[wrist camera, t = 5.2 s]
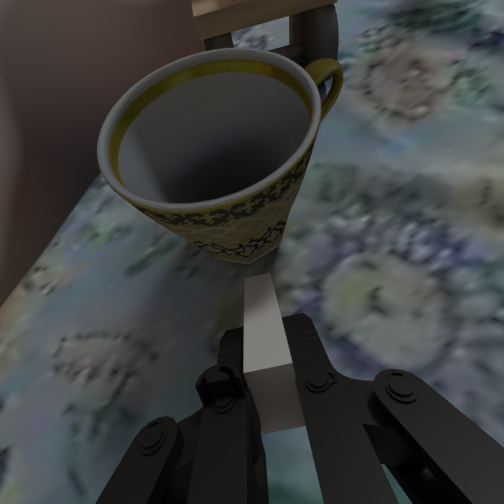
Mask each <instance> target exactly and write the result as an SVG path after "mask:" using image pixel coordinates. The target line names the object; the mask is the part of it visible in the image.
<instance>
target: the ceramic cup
mask: <svg viewBox="0 0 504 504" xmlns="http://www.w3.org/2000/svg"><path fill="white" fill-rule="evenodd" d="M331 74H333V81H332V85H331V88H330V91H329V93H328V95H327V97H326V98H325V100H324V102H323V103H322V105H321V98H320V95H319V91H318V89H317V86H318V85H319V84H320V83H321V82H322V81H323V80H324V79H325V78H326V77H328V76H329V75H331ZM342 83H343V70H342V67H341V65H340V64H339V63H338V62H337V61H336V60H334V59H331V58H322V59H318V60H315V61H313V62H311V63H310V64H309V65H307V66H306V67H305V68H304V69H303V68H302V67H301V66H299V65H298V64H297V63H295V62H293V61H292V60H290V59H288V58H286V57H284V56H281V55H279V54H276V53H273V52H269V51H265V50H260V49H252V48H223V49H216V50H209V51H205V52H201V53H197V54H194V55H190V56H187V57H184V58H181V59H178V60H176V61H174V62H172V63H169V64H167V65H165V66H163V67H161V68H159V69H157V70H156V71H154V72H152V73H151V74H149V75H147V76H146V77H144V78H143V79H141V80H140V81H139V82H138V83H136V84H135V85H134V86H132V87H131V88H130V89H129V90H128V91H127V92H126V93H125V94H124V95H123V96H122V97H121V98H120V99H119V100H118V102H117V103H116V104H115V105H114V106H113V108H112V110H111V111H110V112H109V114H108V116H107V117H106V119H105V121H104V123H103V126H102V128H101V131H100V134H99V138H98V143H97V158H98V164H99V168H100V170H101V173H102V175H103V176H104V178H105V180H106V181H107V183H108V184H109V185H110V187H111V188H112V189H113V190H114V191H115V192H116V193H118V194H119V195H120V196H121V197H123V198H124V199H125V200H126V201H128V202H129V203H130V204H132V205H133V206H134V207H135V208H137V209H138V210H139V211H141V212H142V213H144V214H145V215H147V216H148V217H150V218H151V219H153V220H154V221H156V222H157V223H159V224H160V225H162V226H163V227H165V228H167V229H168V230H170V231H172V232H174V233H176V234H178V235H180V236H182V237H184V238H185V239H186V240H188V241H189V242H191V243H192V244H194V245H195V246H197V247H198V248H200V249H202V250H203V251H205V252H207V253H208V254H209V255H211V256H212V257H214V258H216V259H218V260H223V261H230V262H236V263H242V264H252V263H253V262H255V261H257V260H258V259H260V258H261V257H263V256H264V255H266V254H267V253H269V252H270V251H272V250H274V249H275V248H277V247H278V246H279V245H280V242H281V239H282V235H283V232H284V229H285V225H286V222H287V219H288V215H289V212H290V209H291V207H292V205H293V202H294V200H295V198H296V196H297V194H298V191H299V189H300V187H301V184H302V181H303V178H304V175H305V172H306V169H307V166H308V163H309V160H310V157H311V154H312V150H313V146H314V143H315V139H316V136H317V132H318V129H319V125H320V122H321V121H322V119H323V118H324V117H325V116H326V114H327V113H328V112H329V110H330V109H331V108H332V106H333V104H334V103H335V101H336V99H337V97H338V95H339V93H340V90H341V87H342Z"/></svg>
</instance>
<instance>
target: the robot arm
mask: <svg viewBox="0 0 504 504" xmlns="http://www.w3.org/2000/svg"><path fill="white" fill-rule="evenodd" d="M219 349H220V350H219V355H218V357H219V358H218V362H217V365H214V366H211V367H210V368H209V369H207V370H206V371H204V372H203V374H202V375H201V376H200V377H199V378H198V380H197V383H196V385H195V387H196V389H197V391H198V394H199V396H200V398H201V401H202V403H203V405H204V407H202V408H201V409H200V410H199V411H198V412H196V413H195V414H193V415H191V416H189V417H187V418H185V419H184V420H182V421H180V422H178V423H176V422H175V420H174V419H173V418H171V417H168V416H165V417H159V418H157V419H155V420H153V421H151V422H149V423H148V424H147V425H146V426H145V427H143V428H142V429H141V431H140V432H139V433H138V434H137V436H136V437H135V438H134V440H133V442H132V443H131V445H130V447H129V448H128V450H127V452H126V453H125V455H124V457H123V458H122V460H121V462H120V463H119V465H118V467H117V468H116V470H115V472H114V473H113V475H112V477H111V478H110V480H109V482H108V483H107V485H106V487H105V488H104V490H103V492H102V493H101V495H100V497H99V498H98V500H97V502H96V503H95V504H269V497H268V484H267V470H266V456H265V451H264V447H263V443H262V439H261V428H262V431H263V434H265V433H271V432H276V431H281V430H286V429H291V428H296V427H301V426H306V429H307V433H308V437H309V441H310V446H311V450H312V454H313V458H314V463H315V467H316V471H317V475H318V480H319V484H320V488H321V492H322V497H323V501H324V504H399V503H398V501H397V498H396V496H395V494H394V492H393V490H392V488H391V485H390V483H389V481H388V479H387V477H386V474H385V472H384V470H383V468H382V466H381V464H385V465H386V466H387V468H388V469H389V471H390V472H391V474H392V475H393V476H394V478H395V479H396V481H397V482H398V483H399V485H400V486H401V488H402V489H403V491H404V492H405V493H406V495H407V496H408V498H409V499H410V500H411V502H412V503H413V504H504V447H502V446H501V445H500V444H499V443H498V442H496V441H495V440H494V439H493V438H492V437H490V436H489V435H488V434H487V433H486V432H484V431H483V430H482V429H481V428H480V427H478V426H477V425H476V424H475V423H474V422H472V421H471V420H470V419H469V418H467V417H466V416H465V415H464V414H463V413H461V412H460V411H459V410H458V409H457V408H455V407H454V406H453V405H452V404H451V403H449V402H448V401H447V400H446V399H445V398H443V397H442V396H441V395H440V394H439V393H437V392H436V391H435V390H434V389H433V388H431V387H430V386H429V385H428V384H426V383H425V382H424V381H423V380H422V379H420V378H418V377H417V376H415V375H414V374H412V373H409V372H406V371H403V370H397V369H389V370H385V371H381V372H380V373H379V374H378V375H376V377H375V379H374V381H365V380H356V379H351V378H348V377H346V376H343V375H342V374H340V373H339V372H337V371H336V370H335V369H334V368H333V366H332V364H331V363H330V360H329V358H328V356H327V354H326V351H325V349H324V347H323V345H322V342H321V340H320V338H319V336H318V333H317V331H316V329H315V327H314V324H313V322H312V320H311V318H309V317H308V316H307V315H305V314H304V313H300V314H296V315H291V316H287V317H282V318H281V314H280V310H279V306H278V302H277V298H276V294H275V290H274V286H273V281H272V277H271V273H265V274H261V275H257V276H252V277H248V278H244V327H240V328H236V329H231V330H227V331H226V332H225V333H224V335H223V337H222V338H221V341H220V348H219Z"/></svg>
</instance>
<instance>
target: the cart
mask: <svg viewBox="0 0 504 504" xmlns="http://www.w3.org/2000/svg"><path fill="white" fill-rule="evenodd" d="M191 2H192V8H193V15H194V19H195V23H196V26H197V30H198V34H199V37H200V40H204V42H205V47H206V51H209V50H216V49H223V48H234V46H233V41H232V37H231V33H230V32H233V31H237V30H240V29H244V28H247V27H251V26H254V25H258V24H262V23H265V22H269V21H272V20H276V19H279V18H283V17H286V16H289V45H287V46H284V47H280V48H277V49H273V50H269V52H273V53H276V54H279V55H281V56H284V57H286V58H288V59H290V60H295V59H296V63H297V64H298V65H299V66H301V67H302V68H303V69H304V68H305V67H306V66H307V65H309V64H310V63H311V62H313V61H315V60H318V59H322V58H331V59H334V60H336V61H337V55H338V40H339V36H338V20H337V14H336V10H335V6H334V4H333V3H336V2H337V0H191ZM332 75H333V74H331V75H329V76H328V77H326V78H325V79H324V80H323V81H327V80H330V79H331V77H332ZM323 81H322V82H323Z"/></svg>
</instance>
